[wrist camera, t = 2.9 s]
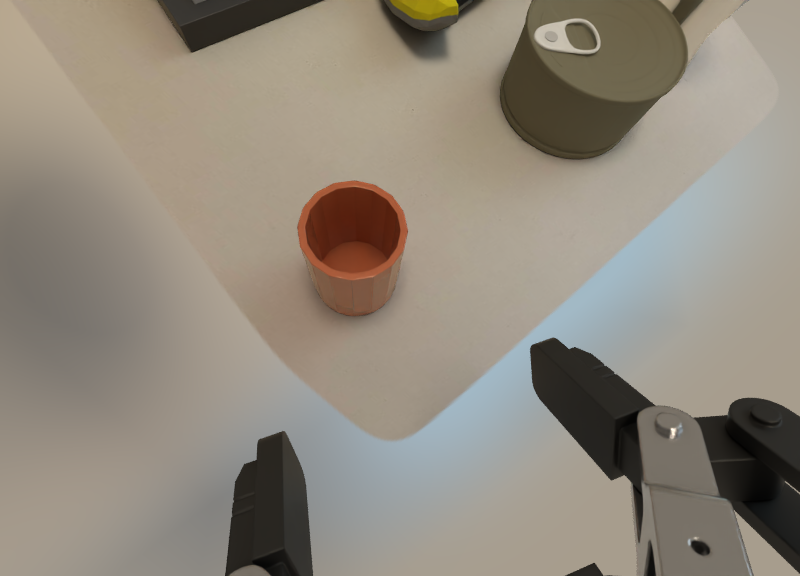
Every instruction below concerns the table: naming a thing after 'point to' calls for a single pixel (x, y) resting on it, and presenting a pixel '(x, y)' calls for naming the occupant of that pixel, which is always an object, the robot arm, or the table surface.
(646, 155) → the table surface
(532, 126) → the can
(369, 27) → the table surface
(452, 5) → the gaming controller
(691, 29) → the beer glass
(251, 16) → the scale
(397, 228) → the cup
